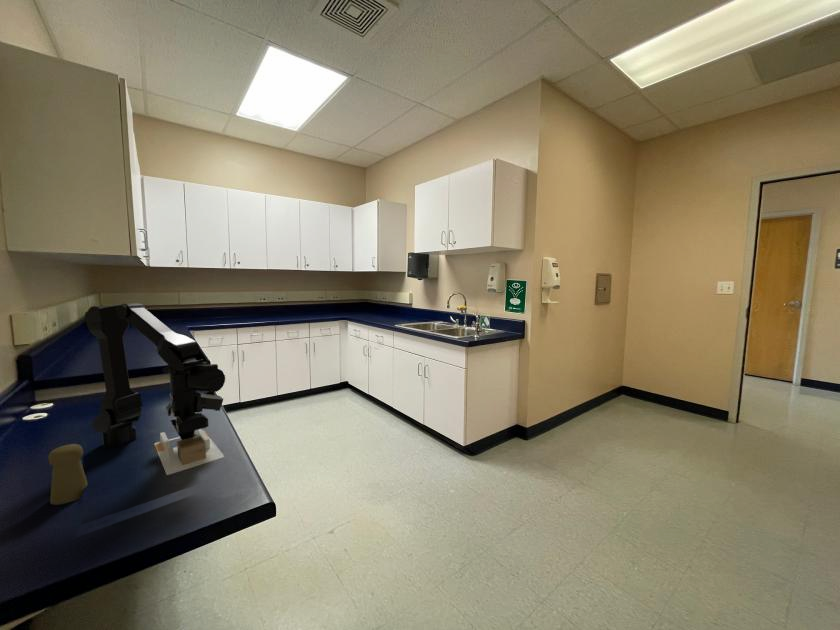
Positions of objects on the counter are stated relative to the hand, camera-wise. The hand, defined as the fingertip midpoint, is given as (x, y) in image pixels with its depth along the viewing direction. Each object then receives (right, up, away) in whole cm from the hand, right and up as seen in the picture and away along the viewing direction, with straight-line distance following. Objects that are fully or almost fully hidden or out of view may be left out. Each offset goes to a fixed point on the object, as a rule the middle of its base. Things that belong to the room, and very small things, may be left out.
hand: (188, 446), depth 91 cm
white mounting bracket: (-1, -3, +1) cm, 3 cm away
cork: (-14, -5, -17) cm, 22 cm away
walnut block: (+3, -1, -3) cm, 5 cm away
